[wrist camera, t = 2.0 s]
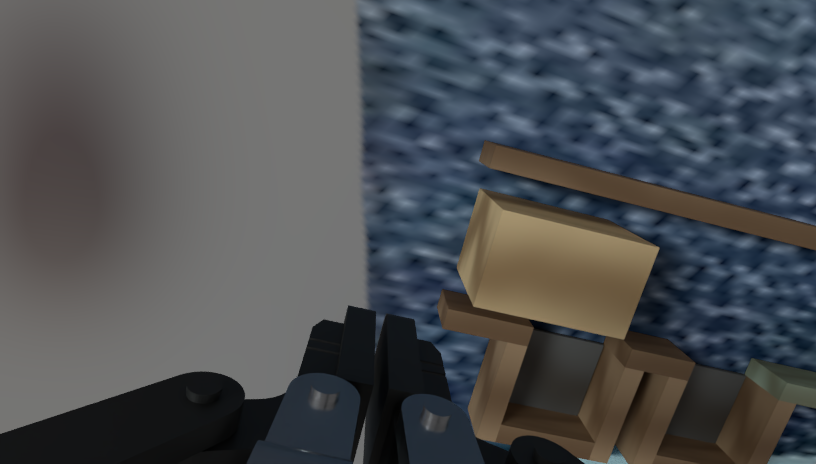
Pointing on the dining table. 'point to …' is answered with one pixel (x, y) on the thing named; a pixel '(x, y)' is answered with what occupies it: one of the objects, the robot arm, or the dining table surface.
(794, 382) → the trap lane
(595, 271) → the block
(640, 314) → the dining table surface
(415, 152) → the dining table surface
